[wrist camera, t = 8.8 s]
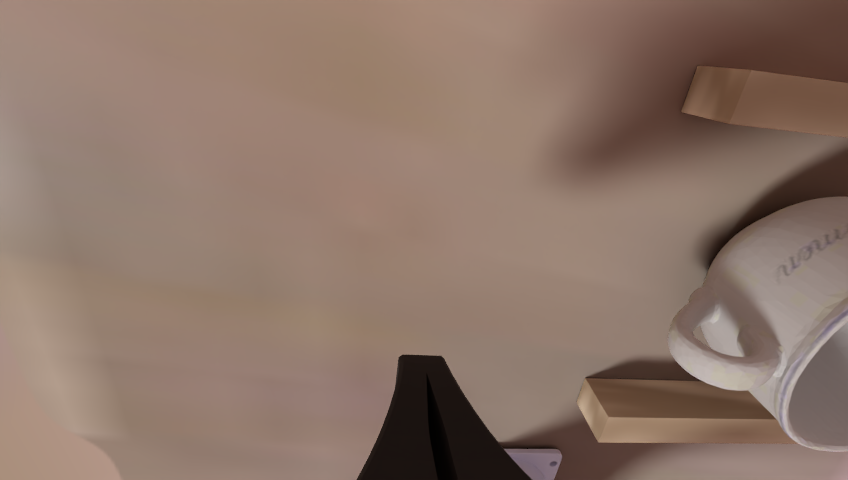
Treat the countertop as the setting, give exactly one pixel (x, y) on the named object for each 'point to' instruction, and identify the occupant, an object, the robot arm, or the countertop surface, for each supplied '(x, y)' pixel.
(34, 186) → the countertop surface
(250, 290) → the countertop surface
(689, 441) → the wooden bay
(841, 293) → the teacup
